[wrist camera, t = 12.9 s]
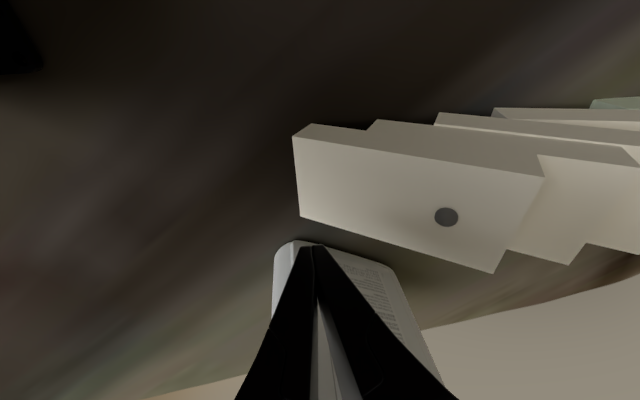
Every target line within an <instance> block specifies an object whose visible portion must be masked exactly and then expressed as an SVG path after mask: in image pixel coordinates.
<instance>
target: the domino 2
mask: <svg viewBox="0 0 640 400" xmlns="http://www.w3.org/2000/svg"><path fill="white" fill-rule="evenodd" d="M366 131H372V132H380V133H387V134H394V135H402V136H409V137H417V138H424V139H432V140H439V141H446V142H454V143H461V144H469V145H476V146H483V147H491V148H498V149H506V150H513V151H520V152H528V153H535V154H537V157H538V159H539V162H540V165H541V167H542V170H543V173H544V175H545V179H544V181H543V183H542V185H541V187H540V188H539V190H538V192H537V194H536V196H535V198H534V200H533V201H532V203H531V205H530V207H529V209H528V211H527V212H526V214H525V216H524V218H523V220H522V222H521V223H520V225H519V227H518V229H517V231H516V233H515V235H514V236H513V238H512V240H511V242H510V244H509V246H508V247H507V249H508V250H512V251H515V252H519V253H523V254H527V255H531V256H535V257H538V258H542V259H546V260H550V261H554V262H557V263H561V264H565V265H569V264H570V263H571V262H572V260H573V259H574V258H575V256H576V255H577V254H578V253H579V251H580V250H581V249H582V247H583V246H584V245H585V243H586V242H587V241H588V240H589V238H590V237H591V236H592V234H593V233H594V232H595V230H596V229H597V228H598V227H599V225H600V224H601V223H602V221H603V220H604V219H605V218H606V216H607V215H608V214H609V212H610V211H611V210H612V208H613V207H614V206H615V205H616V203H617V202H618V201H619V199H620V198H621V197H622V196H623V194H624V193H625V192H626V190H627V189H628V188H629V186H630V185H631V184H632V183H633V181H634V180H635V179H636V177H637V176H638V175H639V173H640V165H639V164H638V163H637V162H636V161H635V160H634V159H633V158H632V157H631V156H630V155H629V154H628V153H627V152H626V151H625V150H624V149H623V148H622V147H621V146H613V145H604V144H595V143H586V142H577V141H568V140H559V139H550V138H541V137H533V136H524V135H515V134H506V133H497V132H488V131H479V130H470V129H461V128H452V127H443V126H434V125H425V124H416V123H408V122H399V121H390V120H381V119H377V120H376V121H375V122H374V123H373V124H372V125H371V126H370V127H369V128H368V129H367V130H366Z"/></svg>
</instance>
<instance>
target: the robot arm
mask: <svg viewBox="0 0 640 400" xmlns="http://www.w3.org/2000/svg"><path fill="white" fill-rule="evenodd" d="M20 53H21V54H22V55H24V56H25V57H26V59H27V61H28V64H27V63H25V62H24V61H23V60H22V59H21V58H20ZM42 67H43V62H42V59H41V57H40V55H39V53H38V52H37V50H36V48H35V47H34V45H33V43H32V42H31V40H30V38H29V37H28V35H27V33H26V31H25V30H24V28H23V26H22V25H21V23H20V21H19V20H18V18H17V16H16V15H15V13H14V11H13V9H12V8H11V6H10V4H9V3H8V1H7V0H0V75H5V74H21V73H31V72H36V71H39V70H41V68H42ZM317 299H318V300H317ZM318 305H319V309H320V313H321V317H322V321H323V325H324V329H325V333H326V337H327V341H328V345H329V349H330V353H331V357H332V361H333V365H334V369H335V373H336V377H337V381H338V385H339V389H340V393H341V397H342V400H459V399H458V398H456V397H455V396H454V395H453V394H452V393H451V392H450V391H448V390H447V389H446V388H445V387H444V386H443V385H442V384H441V383H440V382H439V381H438V380H437V379H436V378H435V376H434V375H433V374H432V373H431V372H430V371H429V370H428V369H427V368H426V367H425V366H424V365H423V364H422V363H421V362H420V361H419V360H418V359H417V358H416V357H415V356H414V355H413V354H412V353H411V352H410V351H409V350H408V349H407V348H406V347H405V346H404V344H403V343H402V342H401V341H400V340H399V339H398V338H397V337H396V336H395V335H394V334H393V332H392V331H391V330H390V329H389V327H388V326H387V325H386V324H385V323H384V321H383V320H382V319H381V318H380V316H379V315H378V314H377V313H375V310H374V309H373V308H372V306H371V305H370V304H369V302H368V301H367V300H366V299H365V297H364V296H363V295H362V293H361V292H360V291H359V290H358V288H357V287H356V286H355V285H354V283H353V282H352V281H351V279H350V278H349V277H348V276H347V274H346V273H345V272H344V270H343V269H342V268H341V267H340V265H339V264H338V263H337V262H336V260H335V259H334V258H333V256H332V255H331V254H330V253H329V251H328V250H327V249H326V247H325V246H324V245H323V244H316V245H312V247H311V246H310V245H308V246H301V247H300V248H299V251H298V253H297V256H296V258H295V261H294V264H293V266H292V269H291V271H290V274H289V276H288V279H287V281H286V284H285V287H284V289H283V292H282V294H281V297H280V299H279V302H278V304H277V307H276V309H275V312H274V315H273V317H272V320H271V322H270V325H269V329H268V330H267V332H266V335H265V337H264V340H263V342H262V344H261V347H260V349H259V351H258V354H257V356H256V358H255V360H254V362H253V364H252V366H251V368H250V370H249V372H248V374H247V376H246V378H245V380H244V382H243V384H242V386H241V388H240V390H239V392H238V393H237V396H236V397H235V399H234V400H318Z"/></svg>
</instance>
